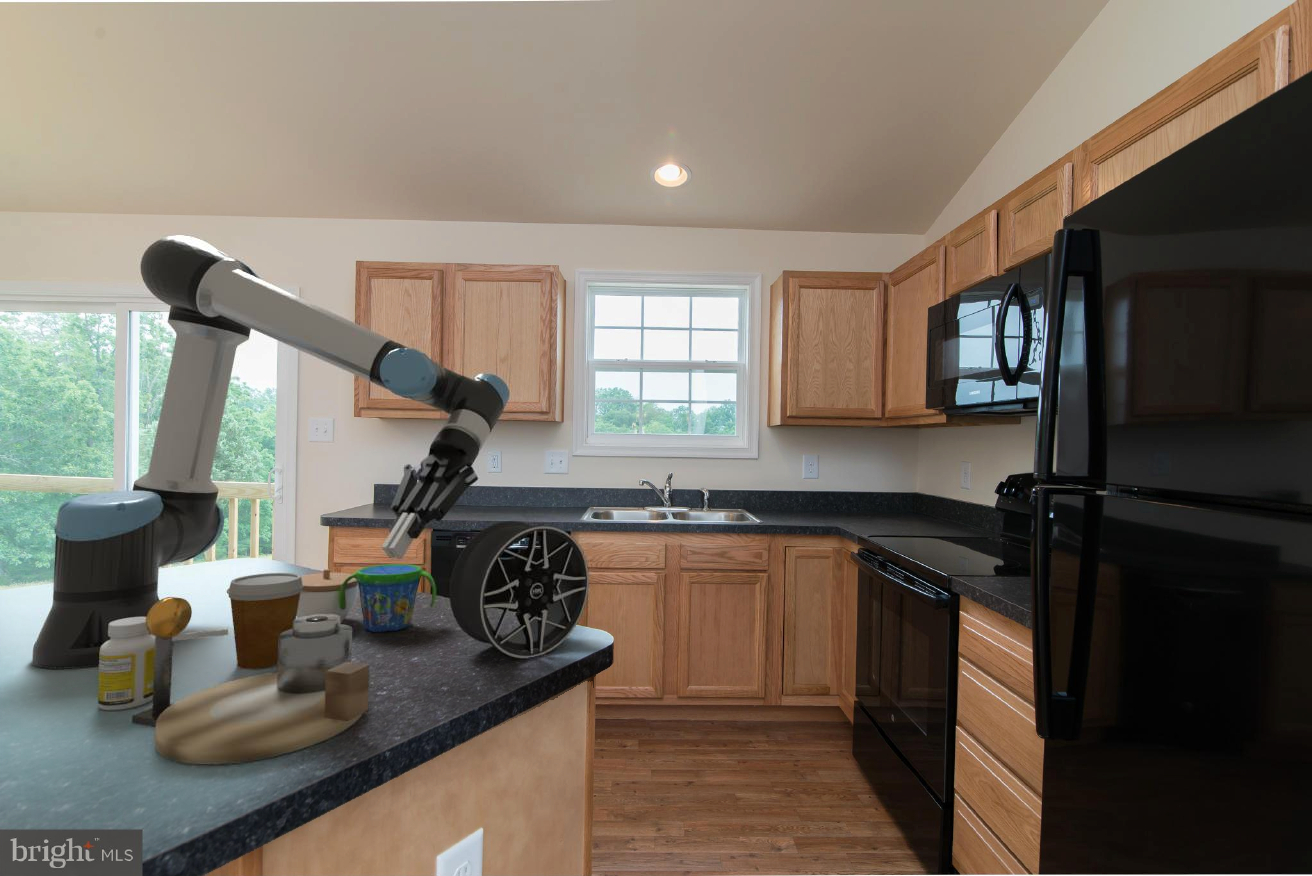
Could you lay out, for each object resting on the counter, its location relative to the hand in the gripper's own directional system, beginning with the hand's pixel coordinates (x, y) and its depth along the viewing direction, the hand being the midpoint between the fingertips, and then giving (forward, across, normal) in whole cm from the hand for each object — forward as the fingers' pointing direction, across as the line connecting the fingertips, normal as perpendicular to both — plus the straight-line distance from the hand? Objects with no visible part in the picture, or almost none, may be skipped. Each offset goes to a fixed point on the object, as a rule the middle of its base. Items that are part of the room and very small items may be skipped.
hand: (391, 553), depth 89 cm
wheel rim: (+3, -15, -20) cm, 25 cm away
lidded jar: (+2, +24, -21) cm, 32 cm away
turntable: (+25, -1, +3) cm, 26 cm away
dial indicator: (+27, +11, +4) cm, 29 cm away
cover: (+19, 0, 0) cm, 19 cm away
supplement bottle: (+26, +20, +3) cm, 33 cm away
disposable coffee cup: (+15, +17, -8) cm, 24 cm away
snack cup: (+1, +12, -22) cm, 25 cm away
